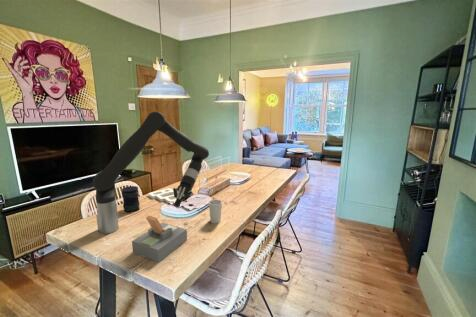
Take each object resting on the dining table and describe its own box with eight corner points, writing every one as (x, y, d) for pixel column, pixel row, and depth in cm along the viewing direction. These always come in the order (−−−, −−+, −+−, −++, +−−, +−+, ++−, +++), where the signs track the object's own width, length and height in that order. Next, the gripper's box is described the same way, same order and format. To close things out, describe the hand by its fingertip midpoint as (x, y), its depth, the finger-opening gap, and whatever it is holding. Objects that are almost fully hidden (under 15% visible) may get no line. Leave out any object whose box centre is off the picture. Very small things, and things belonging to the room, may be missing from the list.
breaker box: (163, 232, 126) (162, 217, 124) (187, 239, 119) (186, 223, 117) (132, 252, 108) (131, 235, 106) (158, 262, 101) (157, 243, 100)
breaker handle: (157, 231, 114) (148, 215, 107) (165, 233, 112) (156, 217, 105) (155, 234, 112) (145, 218, 106) (163, 236, 110) (154, 220, 104)
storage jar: (120, 210, 152) (118, 189, 149) (133, 205, 161) (131, 185, 158) (130, 214, 148) (128, 192, 145) (143, 208, 156) (141, 187, 153)
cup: (222, 217, 144) (222, 199, 142) (221, 223, 137) (221, 204, 134) (209, 217, 144) (209, 199, 142) (208, 223, 136) (208, 204, 134)
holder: (200, 207, 160) (200, 204, 159) (177, 215, 148) (177, 211, 147) (169, 191, 192) (169, 188, 191) (148, 196, 179) (148, 193, 179)
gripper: (177, 173, 129) (162, 201, 121) (196, 176, 124) (182, 205, 115) (183, 179, 135) (170, 207, 127) (202, 182, 129) (189, 211, 121)
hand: (176, 206), depth 121 cm, fingers closed
